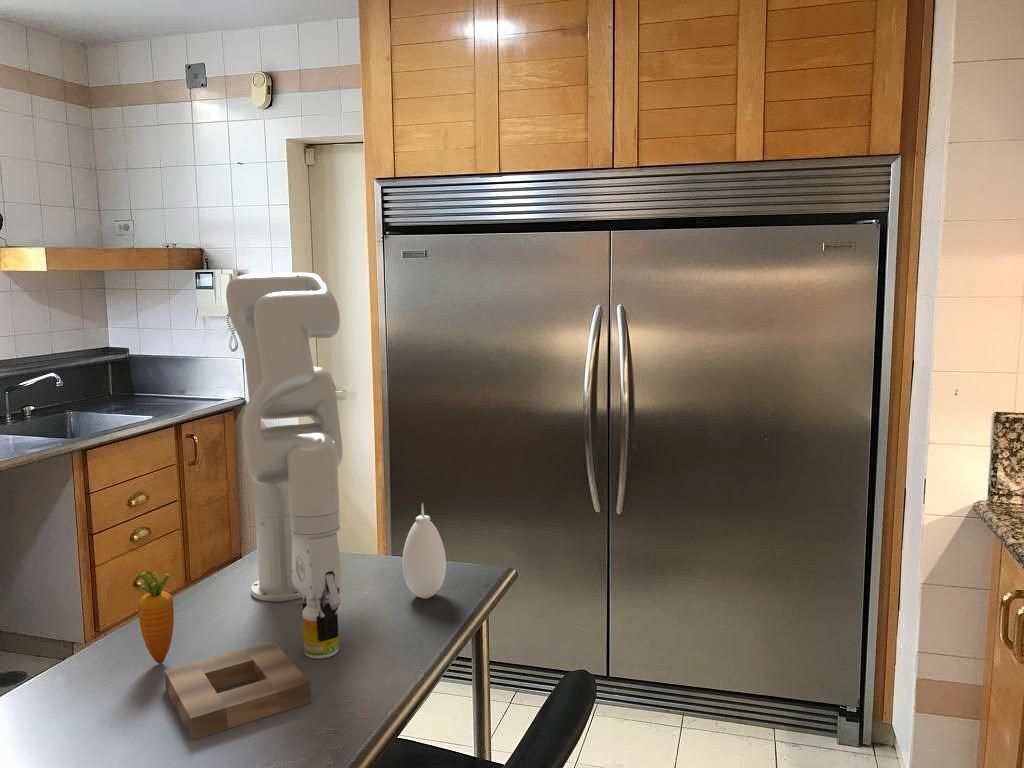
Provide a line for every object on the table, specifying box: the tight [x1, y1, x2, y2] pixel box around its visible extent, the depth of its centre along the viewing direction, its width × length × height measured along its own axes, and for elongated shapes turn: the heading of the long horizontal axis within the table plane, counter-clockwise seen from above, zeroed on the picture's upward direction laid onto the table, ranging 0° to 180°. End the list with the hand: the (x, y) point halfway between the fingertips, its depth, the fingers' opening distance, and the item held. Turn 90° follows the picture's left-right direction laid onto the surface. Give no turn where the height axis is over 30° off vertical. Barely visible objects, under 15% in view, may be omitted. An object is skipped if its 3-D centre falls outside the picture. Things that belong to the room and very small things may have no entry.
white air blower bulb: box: [402, 502, 447, 599], centre depth 150 cm, size 8×8×18 cm
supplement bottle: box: [302, 591, 340, 660], centre depth 129 cm, size 5×5×10 cm
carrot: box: [137, 571, 175, 665], centre depth 126 cm, size 5×5×15 cm
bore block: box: [164, 640, 312, 741], centre depth 116 cm, size 16×16×3 cm
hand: (320, 630), depth 129 cm, fingers closed on supplement bottle, 5 cm apart
